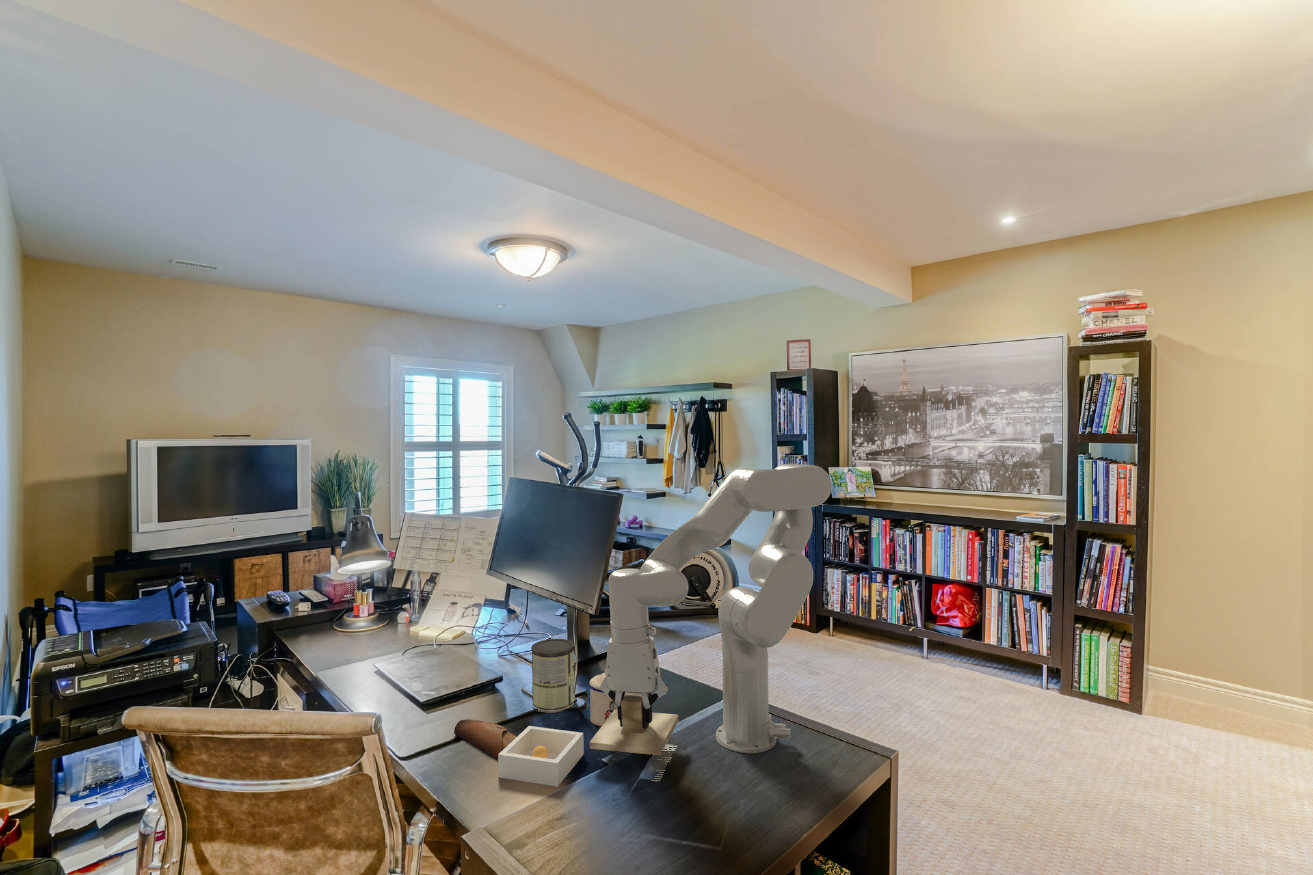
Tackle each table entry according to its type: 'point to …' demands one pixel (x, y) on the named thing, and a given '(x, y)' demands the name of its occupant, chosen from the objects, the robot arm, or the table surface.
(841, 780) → the table surface
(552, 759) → the dish
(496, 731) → the sunglasses case
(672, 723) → the lid
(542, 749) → the ball
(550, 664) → the coffee can
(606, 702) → the teacup with lid
